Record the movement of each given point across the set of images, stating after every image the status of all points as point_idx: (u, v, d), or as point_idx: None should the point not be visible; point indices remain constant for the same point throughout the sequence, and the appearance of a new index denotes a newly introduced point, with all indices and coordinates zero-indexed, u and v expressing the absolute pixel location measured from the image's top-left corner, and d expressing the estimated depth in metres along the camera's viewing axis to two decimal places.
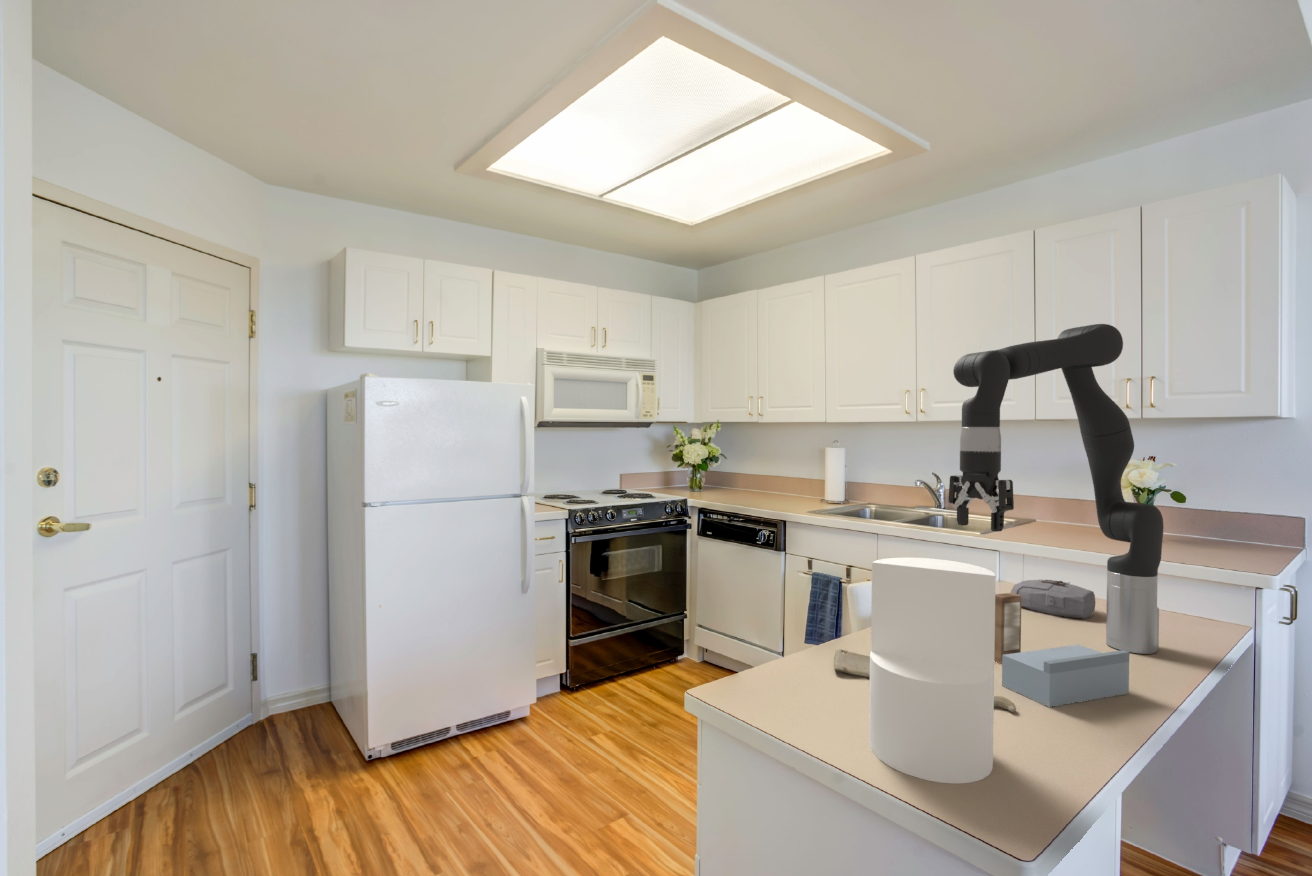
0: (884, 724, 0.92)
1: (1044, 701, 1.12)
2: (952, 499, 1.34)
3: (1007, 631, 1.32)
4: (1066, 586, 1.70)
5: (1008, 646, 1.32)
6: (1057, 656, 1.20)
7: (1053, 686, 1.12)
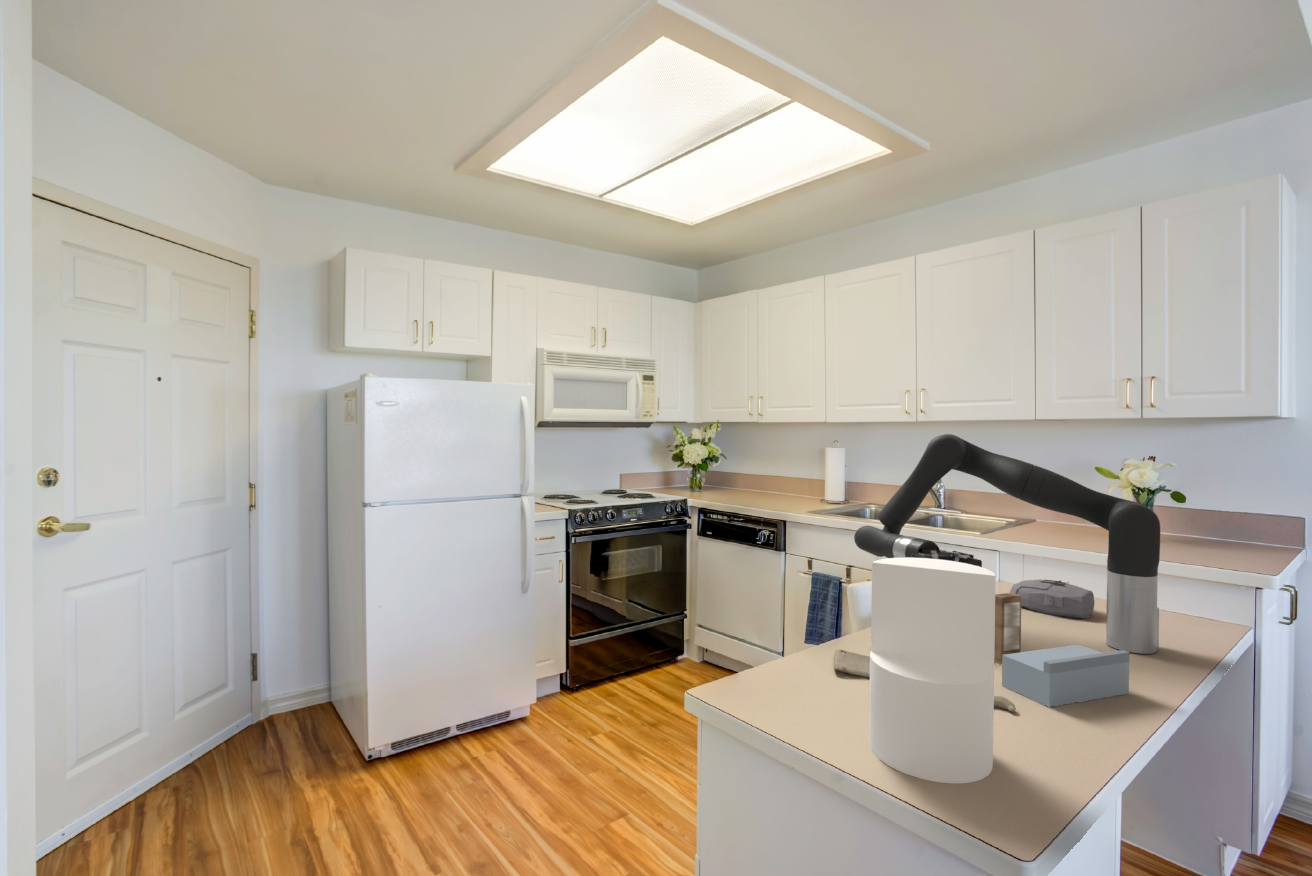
0: (884, 724, 0.92)
1: (1044, 701, 1.12)
2: None
3: (1007, 631, 1.32)
4: (1065, 586, 1.71)
5: (1008, 646, 1.32)
6: (1057, 656, 1.20)
7: (1053, 686, 1.12)
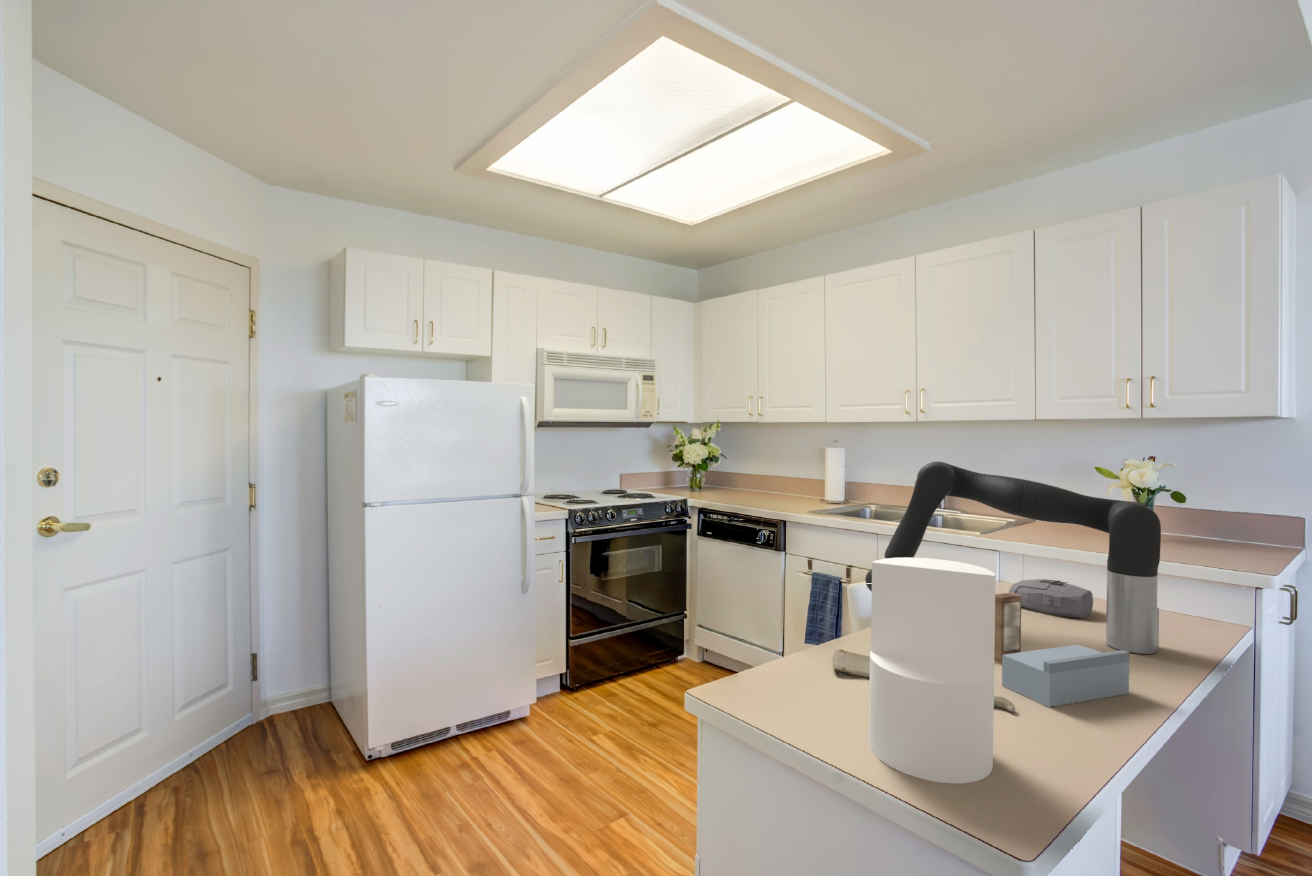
0: (884, 724, 0.92)
1: (1044, 701, 1.12)
2: None
3: (1007, 631, 1.32)
4: (1064, 586, 1.71)
5: (1008, 646, 1.32)
6: (1057, 656, 1.20)
7: (1053, 686, 1.12)
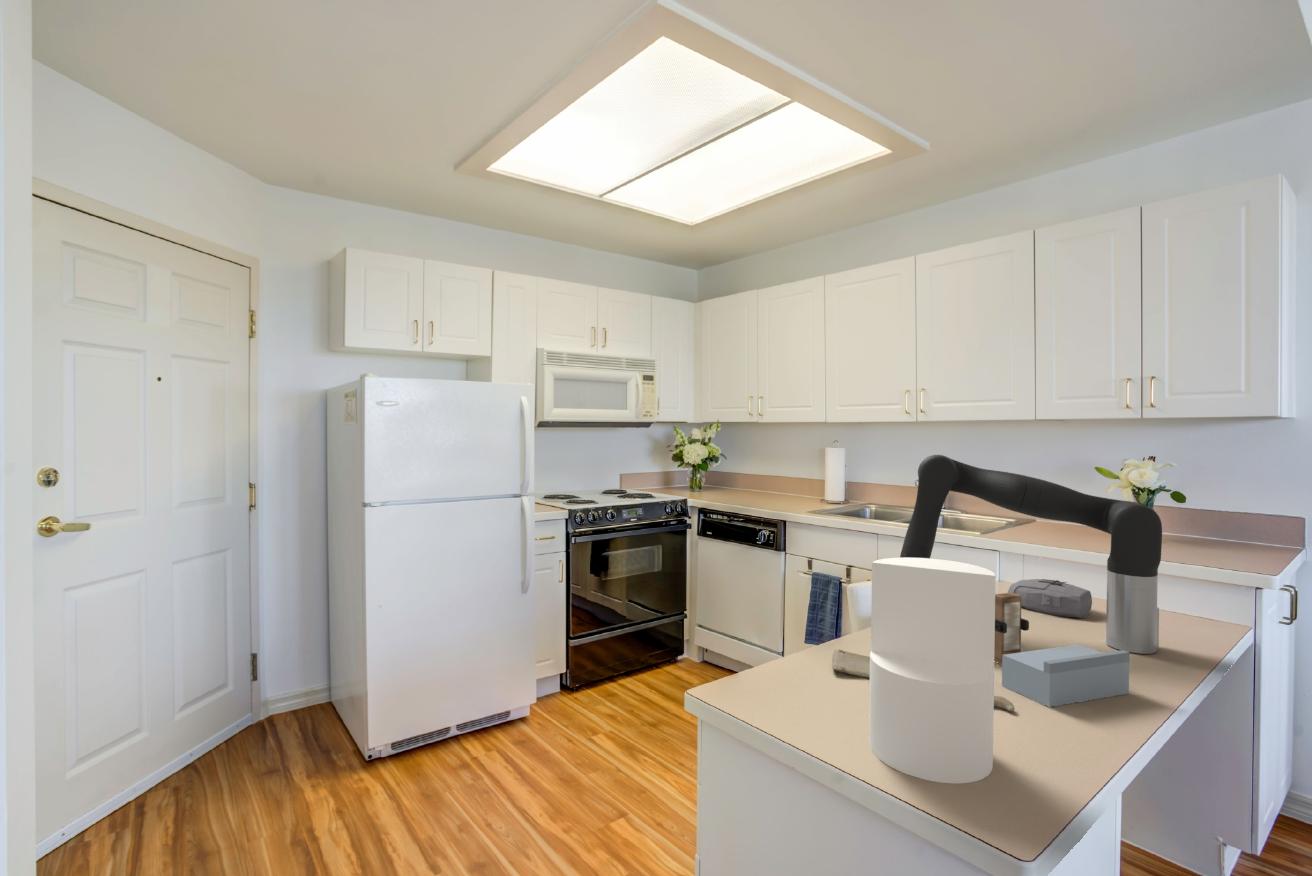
0: (884, 724, 0.92)
1: (1044, 701, 1.12)
2: None
3: (1007, 631, 1.32)
4: (1063, 585, 1.71)
5: (1008, 646, 1.32)
6: (1057, 656, 1.20)
7: (1053, 686, 1.12)
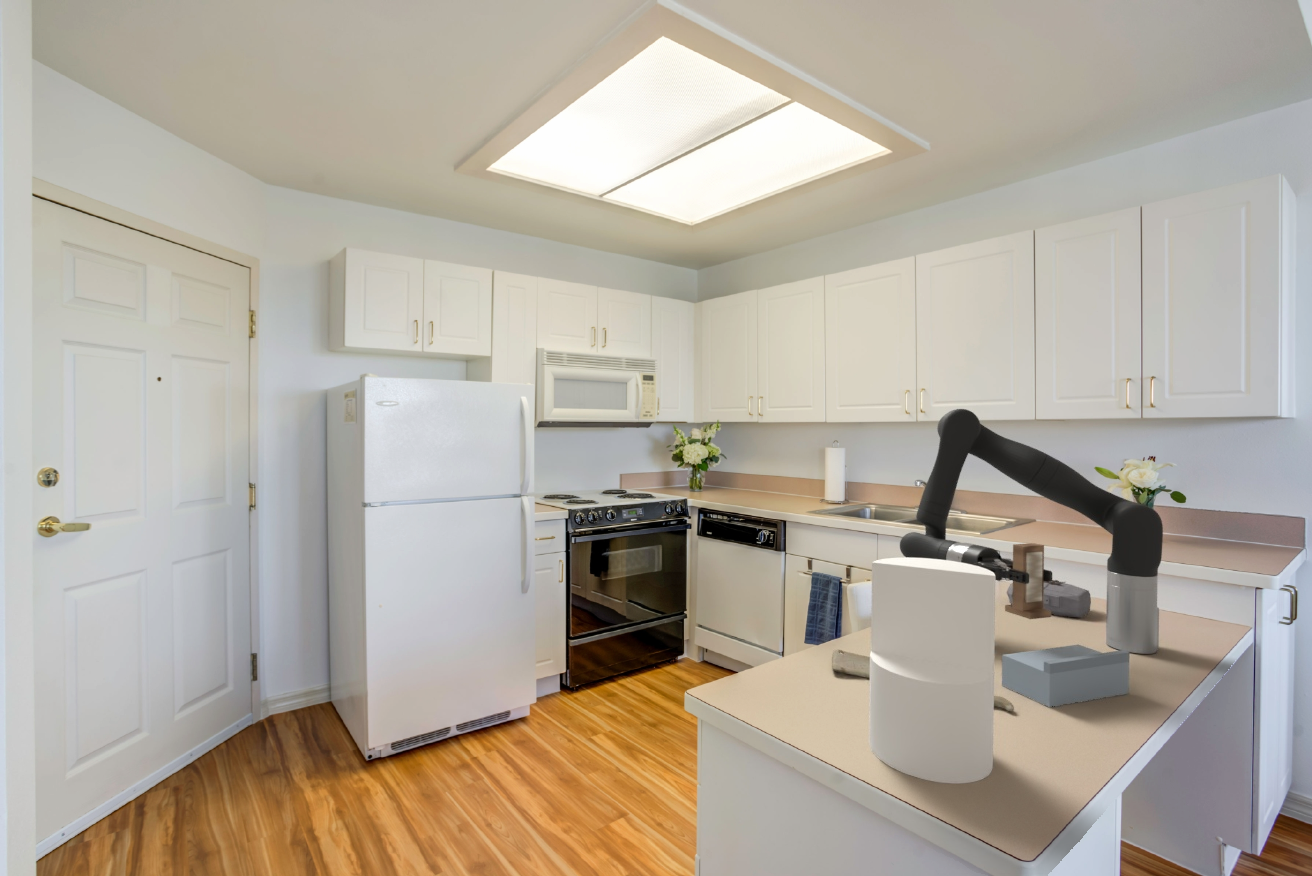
0: (884, 724, 0.92)
1: (1044, 701, 1.12)
2: None
3: (1030, 582, 1.26)
4: (1062, 585, 1.71)
5: (1030, 597, 1.26)
6: (1057, 656, 1.20)
7: (1053, 686, 1.12)
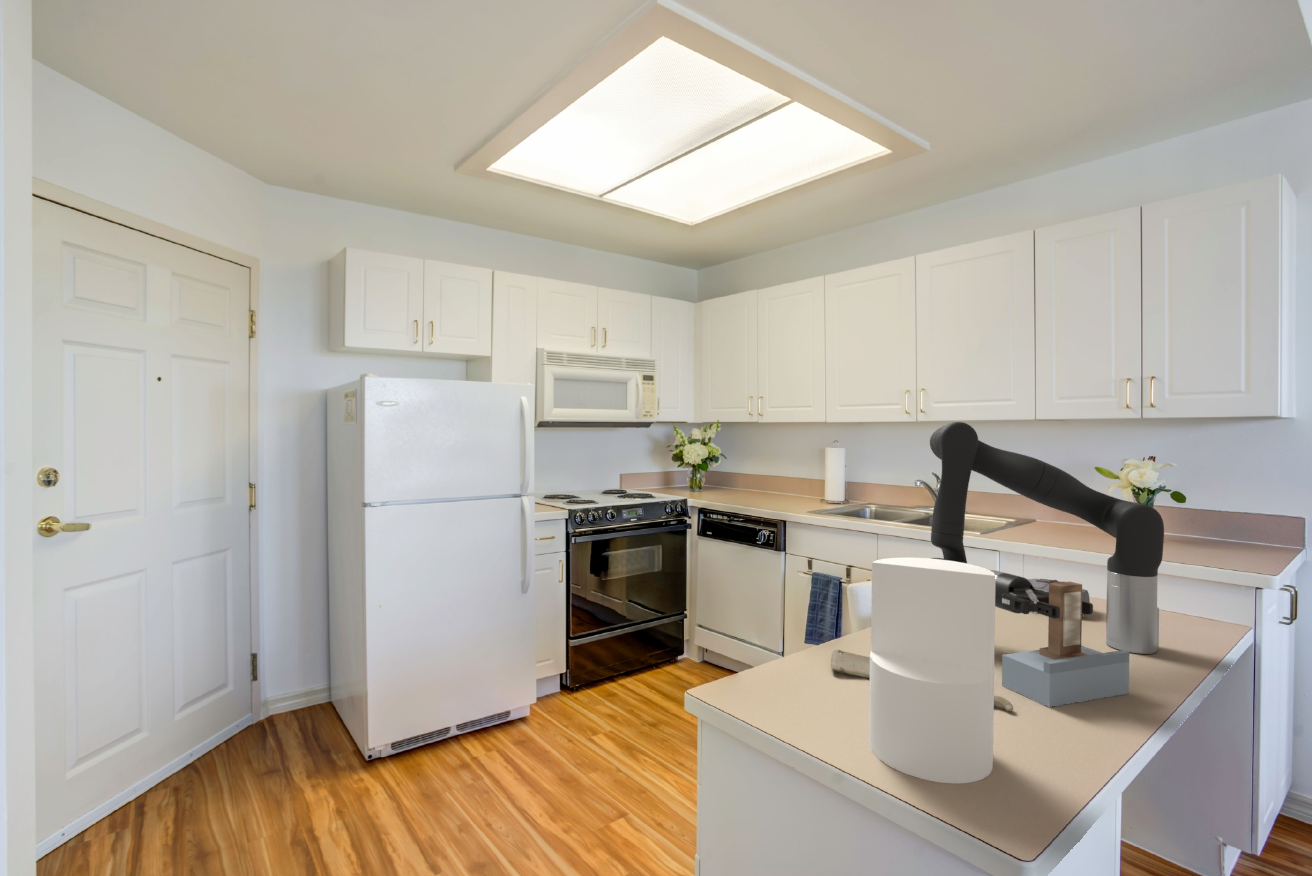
0: (884, 724, 0.92)
1: (1044, 701, 1.12)
2: None
3: (1067, 624, 1.17)
4: None
5: (1068, 641, 1.18)
6: None
7: (1053, 686, 1.12)
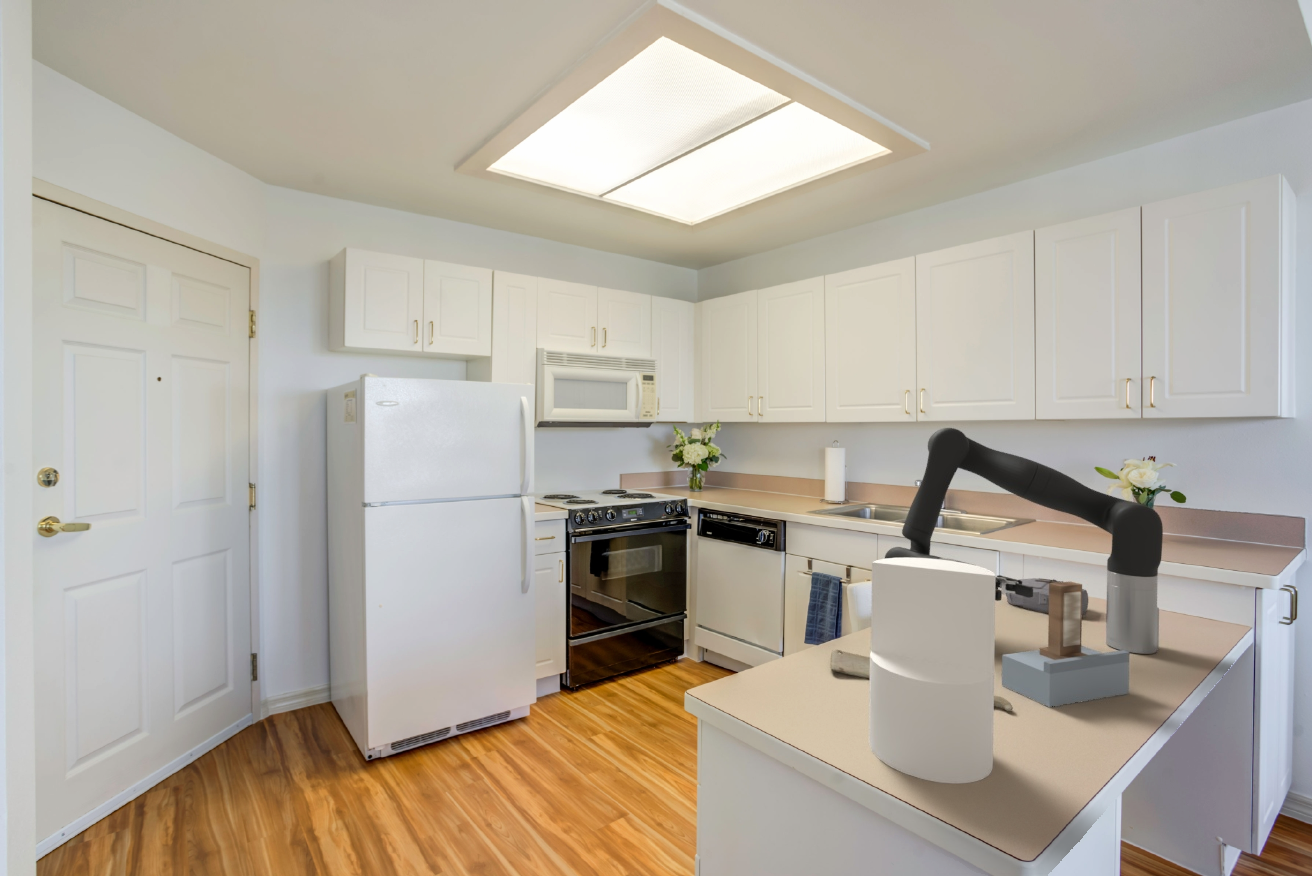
0: (884, 724, 0.92)
1: (1044, 701, 1.12)
2: None
3: (1067, 624, 1.17)
4: None
5: (1068, 641, 1.18)
6: None
7: (1053, 686, 1.12)
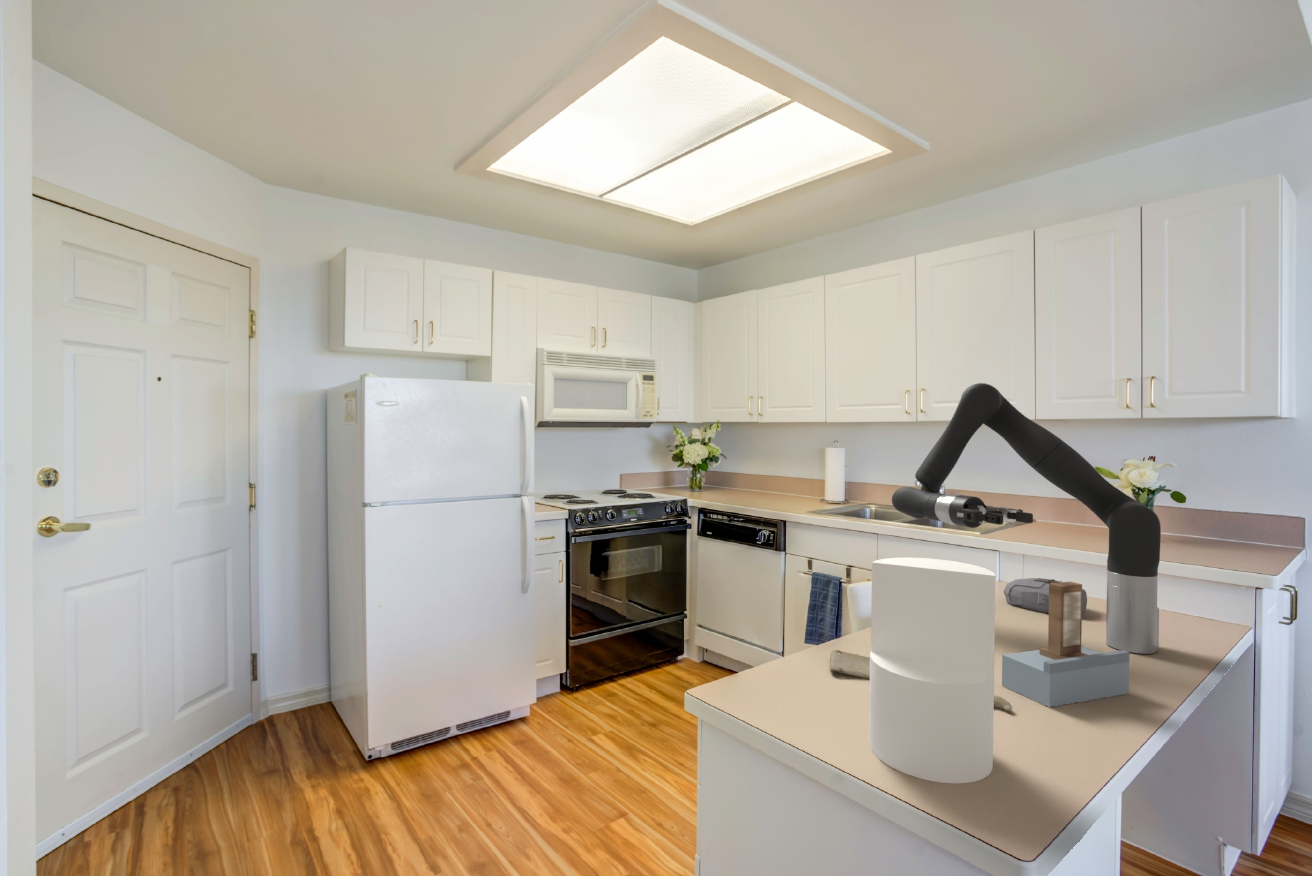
0: (884, 724, 0.92)
1: (1044, 701, 1.12)
2: None
3: (1067, 624, 1.17)
4: None
5: (1068, 641, 1.18)
6: None
7: (1053, 686, 1.12)
